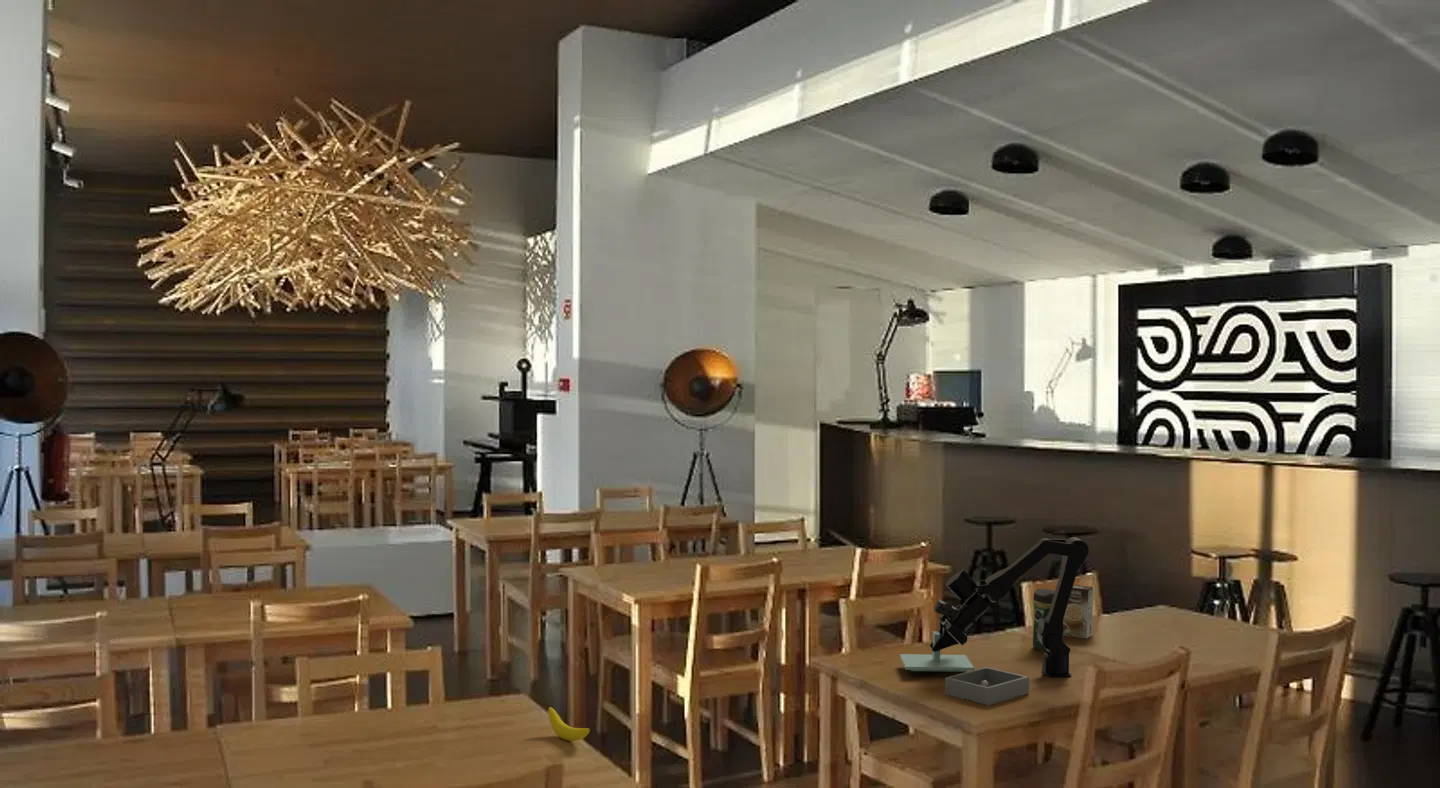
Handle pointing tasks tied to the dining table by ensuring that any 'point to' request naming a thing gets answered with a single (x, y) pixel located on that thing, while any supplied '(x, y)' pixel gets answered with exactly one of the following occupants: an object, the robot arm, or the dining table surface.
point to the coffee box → (1079, 613)
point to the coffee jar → (1041, 612)
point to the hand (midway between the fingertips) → (931, 648)
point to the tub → (987, 685)
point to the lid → (936, 661)
